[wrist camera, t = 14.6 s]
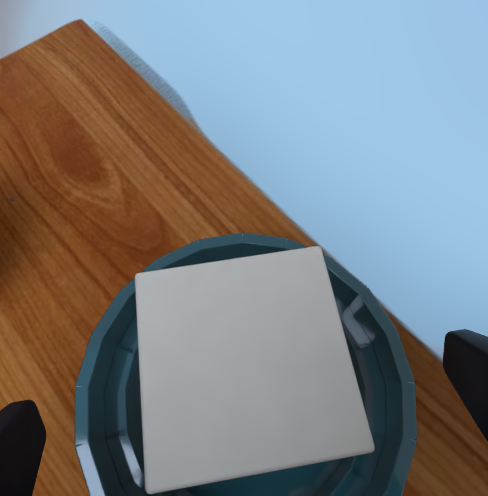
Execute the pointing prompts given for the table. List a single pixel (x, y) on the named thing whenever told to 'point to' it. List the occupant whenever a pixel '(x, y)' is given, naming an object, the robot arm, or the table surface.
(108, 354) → the shallow round tray
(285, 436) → the red banded white pillar
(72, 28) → the table surface
